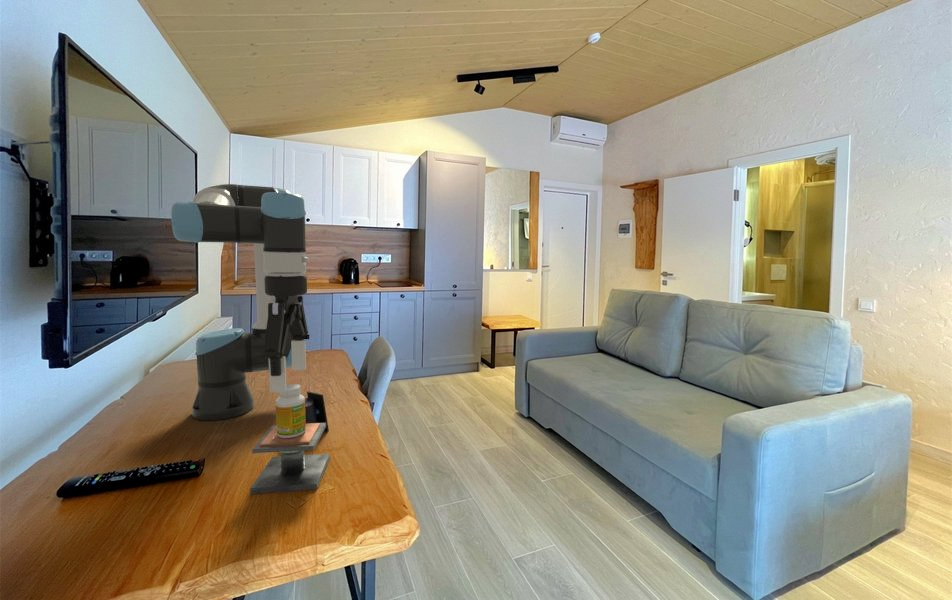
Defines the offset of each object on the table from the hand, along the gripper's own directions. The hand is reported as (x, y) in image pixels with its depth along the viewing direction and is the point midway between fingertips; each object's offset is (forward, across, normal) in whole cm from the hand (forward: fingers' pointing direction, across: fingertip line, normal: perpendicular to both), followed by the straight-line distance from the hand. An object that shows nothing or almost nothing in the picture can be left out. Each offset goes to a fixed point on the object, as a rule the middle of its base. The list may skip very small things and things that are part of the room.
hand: (289, 380), depth 81 cm
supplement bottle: (+11, -1, 0) cm, 11 cm away
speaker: (+21, +19, +2) cm, 28 cm away
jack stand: (+20, -1, 0) cm, 20 cm away
